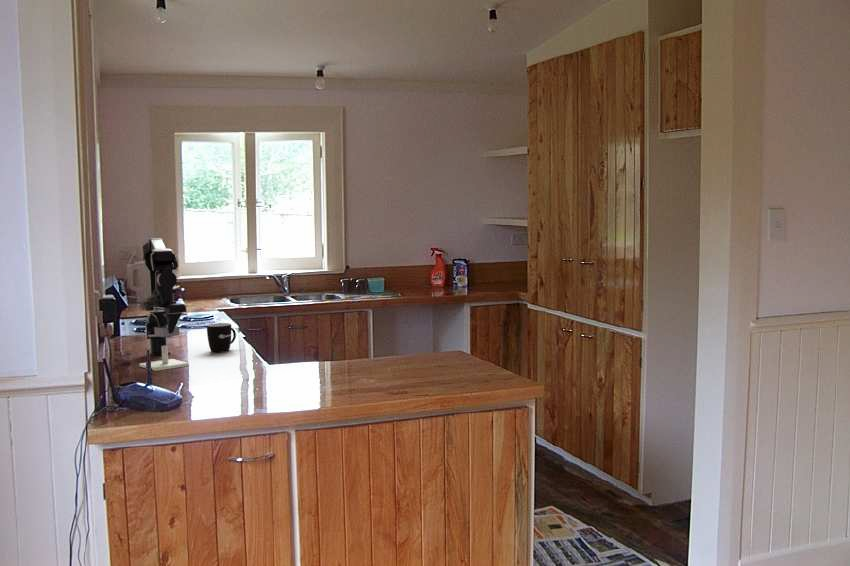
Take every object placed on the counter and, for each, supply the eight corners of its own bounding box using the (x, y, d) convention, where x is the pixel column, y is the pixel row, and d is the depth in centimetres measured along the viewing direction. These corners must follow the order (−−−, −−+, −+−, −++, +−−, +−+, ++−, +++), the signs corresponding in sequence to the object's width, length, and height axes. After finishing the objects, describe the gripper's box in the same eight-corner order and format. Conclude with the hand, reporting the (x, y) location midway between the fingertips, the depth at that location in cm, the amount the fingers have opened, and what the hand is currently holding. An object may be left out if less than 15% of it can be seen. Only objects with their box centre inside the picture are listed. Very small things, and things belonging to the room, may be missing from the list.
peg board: (139, 366, 280) (138, 346, 279) (172, 361, 288) (171, 341, 287) (155, 370, 271) (154, 350, 270) (188, 365, 279) (187, 345, 279)
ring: (154, 335, 279) (154, 327, 279) (171, 333, 284) (170, 325, 283) (162, 337, 275) (162, 328, 275) (179, 335, 279) (179, 326, 279)
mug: (218, 354, 302) (216, 326, 301) (202, 352, 307) (201, 325, 307) (243, 349, 312) (242, 322, 311) (228, 347, 317) (227, 321, 316)
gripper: (129, 287, 279) (131, 333, 280) (154, 289, 266) (157, 337, 267) (160, 285, 287) (162, 329, 288) (186, 287, 274) (188, 333, 275)
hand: (166, 332), depth 279 cm, fingers closed on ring, 6 cm apart
